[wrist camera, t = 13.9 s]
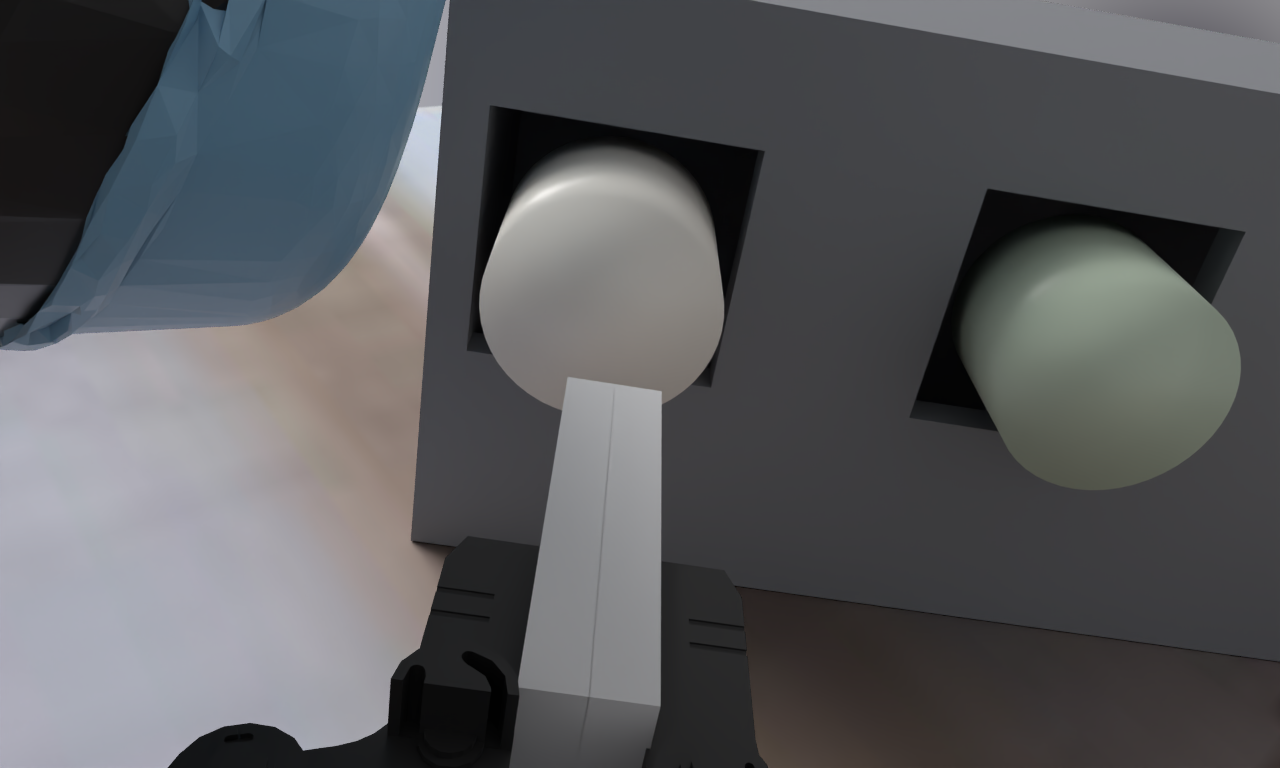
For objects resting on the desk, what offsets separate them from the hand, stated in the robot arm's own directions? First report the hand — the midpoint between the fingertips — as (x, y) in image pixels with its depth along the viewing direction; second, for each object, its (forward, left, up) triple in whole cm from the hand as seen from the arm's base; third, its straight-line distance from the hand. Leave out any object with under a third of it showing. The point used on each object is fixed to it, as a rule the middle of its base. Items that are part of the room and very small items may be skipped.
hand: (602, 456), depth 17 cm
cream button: (+5, +5, -2) cm, 8 cm away
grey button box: (+17, 0, -9) cm, 19 cm away
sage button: (+12, -4, -2) cm, 13 cm away
